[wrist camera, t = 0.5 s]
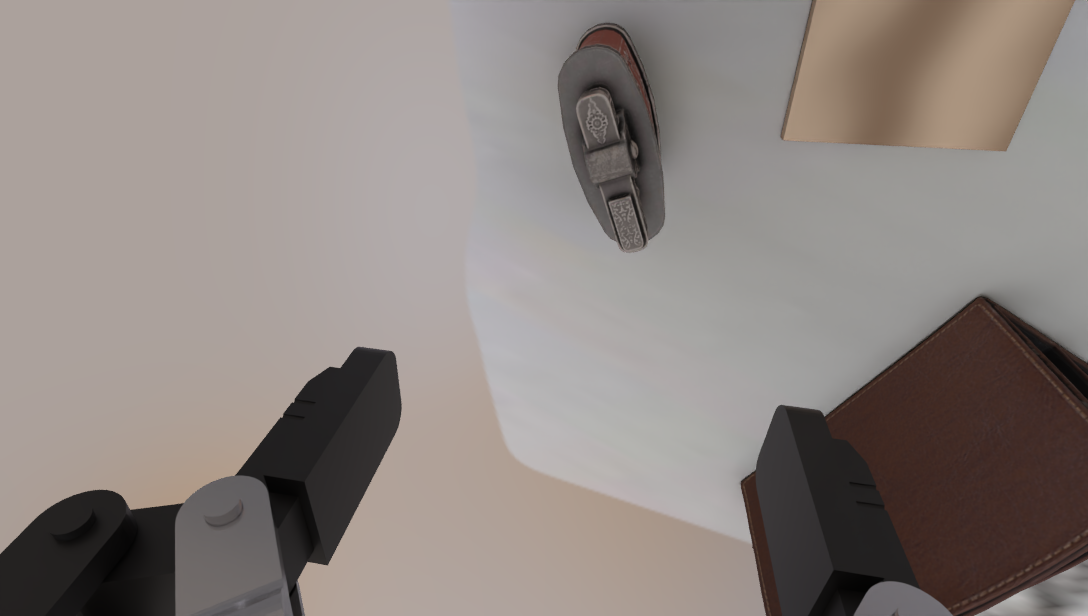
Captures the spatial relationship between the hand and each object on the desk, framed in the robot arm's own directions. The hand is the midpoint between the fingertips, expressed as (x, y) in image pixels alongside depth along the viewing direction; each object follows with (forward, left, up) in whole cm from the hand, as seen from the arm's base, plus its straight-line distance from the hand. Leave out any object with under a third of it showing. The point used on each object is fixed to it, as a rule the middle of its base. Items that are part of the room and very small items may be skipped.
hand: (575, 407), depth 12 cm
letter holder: (-20, +19, -21) cm, 35 cm away
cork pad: (-13, -5, -21) cm, 25 cm away
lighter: (0, -1, -21) cm, 21 cm away
